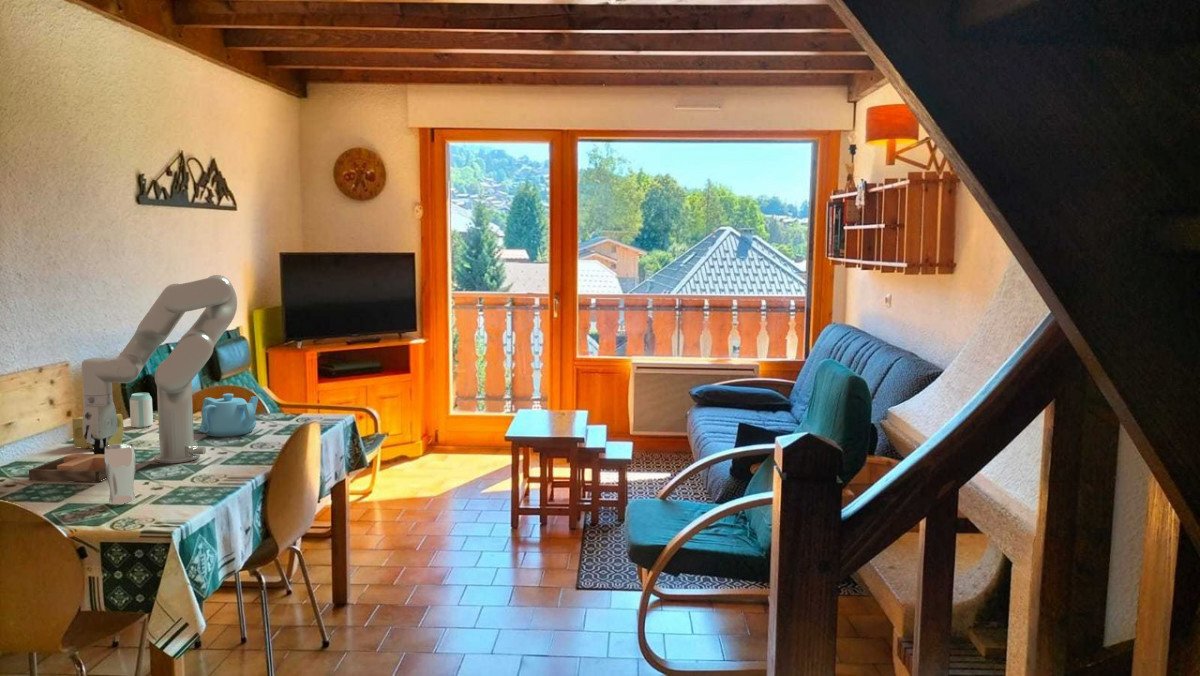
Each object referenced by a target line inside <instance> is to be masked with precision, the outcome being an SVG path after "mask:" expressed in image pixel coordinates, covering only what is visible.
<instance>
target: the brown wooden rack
mask: <svg viewBox="0 0 1200 676" xmlns="http://www.w3.org/2000/svg"><path fill="white" fill-rule="evenodd" d="M63 463H64V456H63V457H60V458H57V459H55V460H54V459H53V460H52V461H49V462H46V463H44V464H41V465H39V466H36V467H34V468H31V469H28V478H29V479H28V480H36V481H35V482H68V481H101V480H103V479H105V478H107V476H106V472H105V468H103V469H100V470H98V471H87V470H57V465H60V464H63ZM105 480H106V479H105ZM103 481H104V480H103ZM101 482H102V481H101Z"/></svg>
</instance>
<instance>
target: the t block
mask: <svg viewBox="0 0 1200 676" xmlns="http://www.w3.org/2000/svg"><path fill="white" fill-rule="evenodd" d="M63 457H64V463H63V464H60V465H57V470H87V471H98V470H100V469H103V468H105V464H104V454H94V453H70V454H67V455H65V456H63Z"/></svg>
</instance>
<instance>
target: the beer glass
mask: <svg viewBox="0 0 1200 676" xmlns="http://www.w3.org/2000/svg"><path fill="white" fill-rule="evenodd" d="M136 460H137V459H136V452H135V445H134V443H130V442H122V443H119V444H112V445H108V446H106V447H105V454H104V464H105V472H106V476H107V479H106V480H107V483H108V487H109V498H108V499H109V500H108V504H109V503H110V504H114V505H115V504H124V503H127V502H131V501H133V500H135V499H136V496H135V491H134V482H135V476H136V467H137V461H136Z"/></svg>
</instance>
